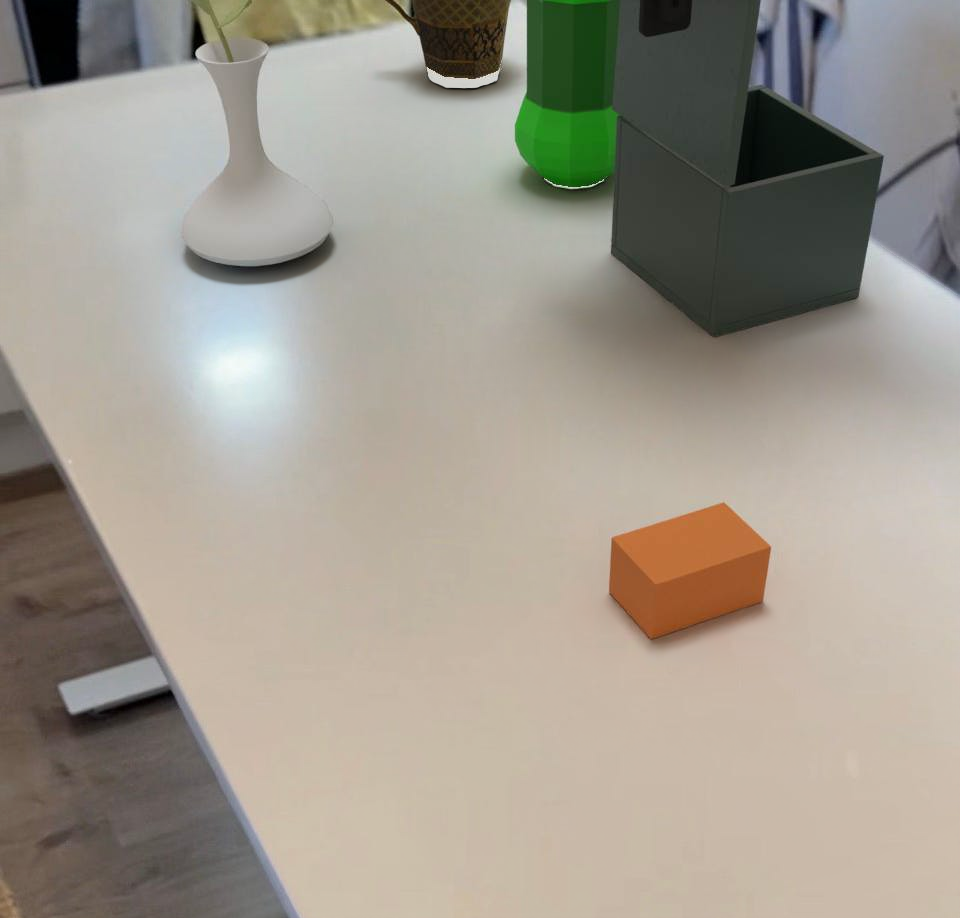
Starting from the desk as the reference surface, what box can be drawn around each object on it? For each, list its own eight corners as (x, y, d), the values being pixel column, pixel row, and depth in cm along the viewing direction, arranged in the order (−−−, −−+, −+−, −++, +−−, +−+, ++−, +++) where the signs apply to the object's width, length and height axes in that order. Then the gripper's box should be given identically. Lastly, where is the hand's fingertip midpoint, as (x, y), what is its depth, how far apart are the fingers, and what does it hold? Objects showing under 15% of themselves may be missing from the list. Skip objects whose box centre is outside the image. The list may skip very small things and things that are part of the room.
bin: (746, 218, 107) (761, 83, 100) (858, 297, 98) (884, 155, 91) (610, 252, 104) (616, 115, 97) (713, 337, 95) (728, 193, 88)
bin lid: (639, -108, 87) (571, -101, 86) (767, -47, 78) (694, -37, 77) (621, 108, 96) (560, 118, 95) (735, 184, 88) (669, 197, 86)
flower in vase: (358, 261, 104) (321, -137, 86) (212, 295, 101) (141, -110, 82) (297, 195, 112) (251, -180, 94) (160, 226, 109) (85, -157, 91)
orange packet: (717, 556, 78) (724, 501, 76) (763, 601, 75) (772, 546, 73) (608, 591, 76) (610, 537, 74) (650, 639, 73) (655, 584, 71)
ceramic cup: (524, 58, 132) (523, -64, 124) (512, 98, 125) (510, -28, 117) (389, 55, 133) (380, -65, 126) (369, 95, 126) (359, -30, 119)
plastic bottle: (664, 172, 113) (690, -203, 95) (577, 215, 108) (588, -173, 90) (572, 140, 118) (580, -223, 100) (485, 179, 113) (477, -195, 95)
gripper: (796, -347, 67) (754, 40, 80) (619, -387, 78) (607, -41, 91) (661, -331, 65) (640, 64, 78) (499, -375, 76) (503, -22, 89)
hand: (622, 7), depth 84 cm, fingers open, 9 cm apart
